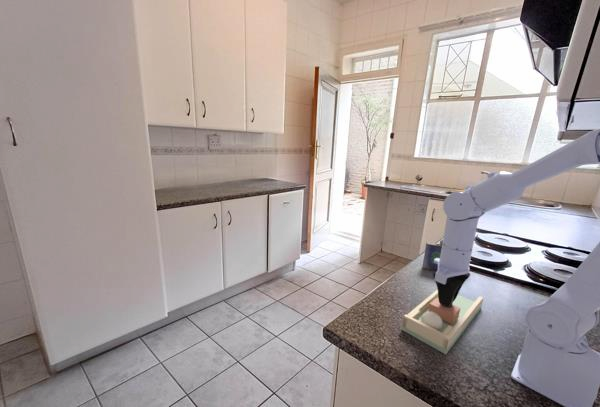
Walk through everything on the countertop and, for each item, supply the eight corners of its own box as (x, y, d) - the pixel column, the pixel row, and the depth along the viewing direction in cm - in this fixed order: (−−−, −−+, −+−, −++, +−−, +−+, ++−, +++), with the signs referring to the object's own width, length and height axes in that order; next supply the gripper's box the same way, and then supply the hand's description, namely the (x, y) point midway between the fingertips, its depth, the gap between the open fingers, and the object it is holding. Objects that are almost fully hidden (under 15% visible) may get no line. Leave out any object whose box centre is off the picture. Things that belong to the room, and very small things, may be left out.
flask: (421, 268, 88) (426, 238, 85) (422, 265, 90) (427, 235, 88) (453, 276, 84) (459, 244, 81) (453, 272, 86) (459, 241, 84)
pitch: (481, 307, 67) (483, 295, 66) (445, 354, 51) (448, 338, 50) (443, 292, 74) (445, 281, 73) (401, 329, 58) (403, 315, 57)
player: (458, 317, 61) (464, 289, 59) (452, 324, 58) (457, 295, 56) (435, 306, 64) (439, 280, 63) (428, 313, 62) (432, 285, 60)
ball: (440, 336, 56) (447, 317, 56) (435, 335, 53) (442, 316, 53) (421, 326, 59) (427, 308, 59) (415, 325, 56) (422, 307, 56)
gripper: (449, 234, 66) (440, 284, 69) (424, 247, 56) (415, 304, 59) (482, 243, 60) (471, 296, 63) (461, 259, 51) (449, 321, 54)
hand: (446, 301), depth 61 cm, fingers closed on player, 2 cm apart
